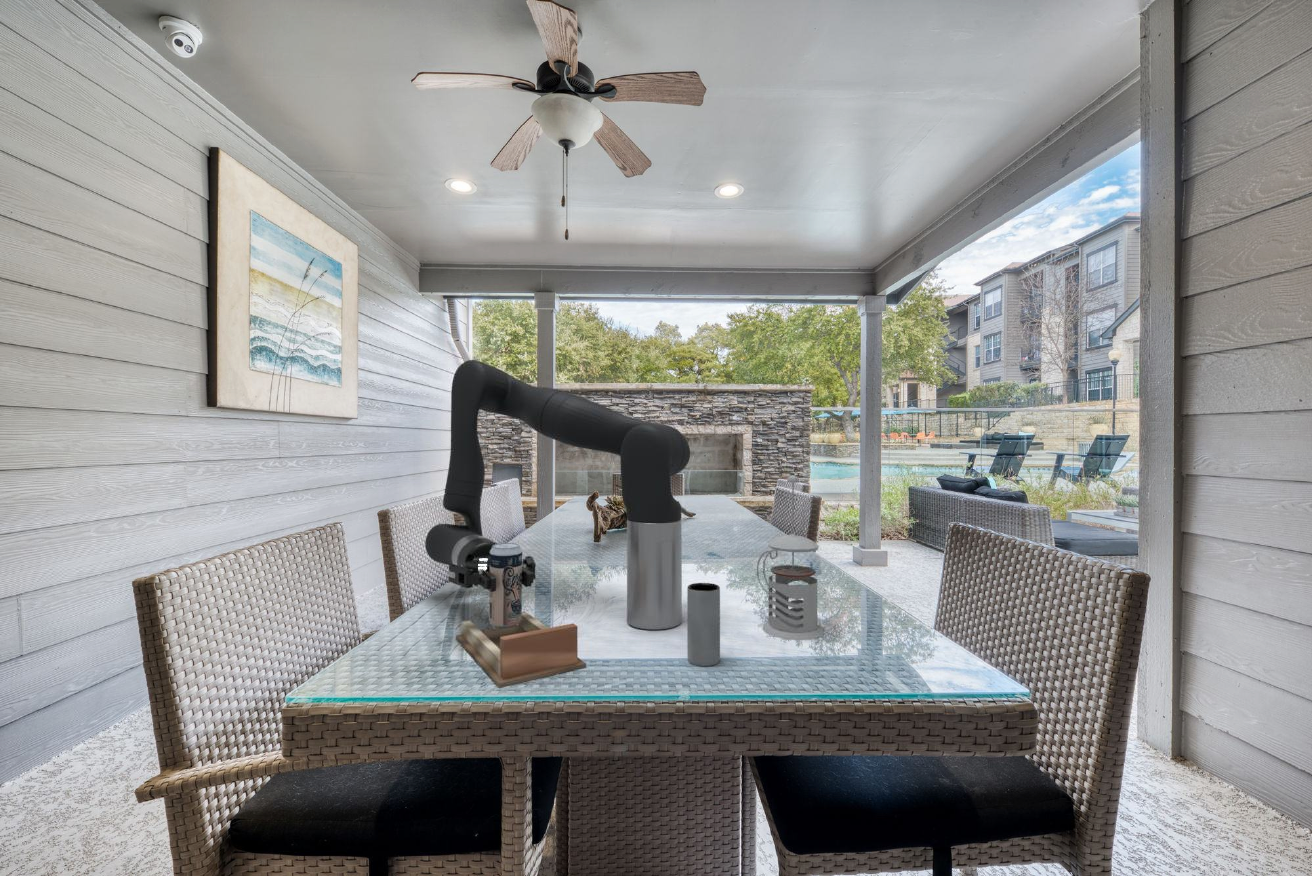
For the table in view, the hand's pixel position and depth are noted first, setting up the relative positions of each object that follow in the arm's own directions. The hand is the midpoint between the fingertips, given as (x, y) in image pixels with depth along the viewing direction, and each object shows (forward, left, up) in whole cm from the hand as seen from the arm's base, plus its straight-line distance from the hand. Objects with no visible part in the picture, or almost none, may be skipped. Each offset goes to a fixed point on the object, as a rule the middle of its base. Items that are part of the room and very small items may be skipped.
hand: (511, 582), depth 86 cm
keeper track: (+1, +2, -10) cm, 10 cm away
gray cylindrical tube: (-9, +27, -10) cm, 30 cm away
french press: (-28, +34, -10) cm, 45 cm away
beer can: (-1, -2, -7) cm, 8 cm away
